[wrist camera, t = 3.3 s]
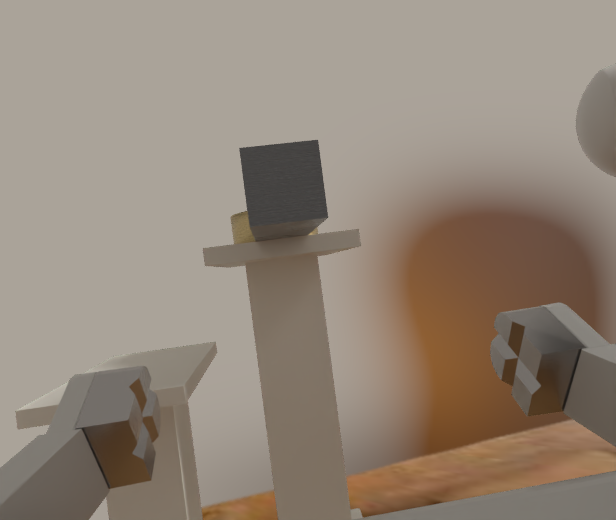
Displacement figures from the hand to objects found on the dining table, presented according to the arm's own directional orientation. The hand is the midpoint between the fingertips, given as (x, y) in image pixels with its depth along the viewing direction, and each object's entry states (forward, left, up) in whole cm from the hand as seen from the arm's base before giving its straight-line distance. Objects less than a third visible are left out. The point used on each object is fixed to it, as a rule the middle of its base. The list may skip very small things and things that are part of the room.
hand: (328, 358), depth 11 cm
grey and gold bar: (-11, -15, +4) cm, 19 cm away
